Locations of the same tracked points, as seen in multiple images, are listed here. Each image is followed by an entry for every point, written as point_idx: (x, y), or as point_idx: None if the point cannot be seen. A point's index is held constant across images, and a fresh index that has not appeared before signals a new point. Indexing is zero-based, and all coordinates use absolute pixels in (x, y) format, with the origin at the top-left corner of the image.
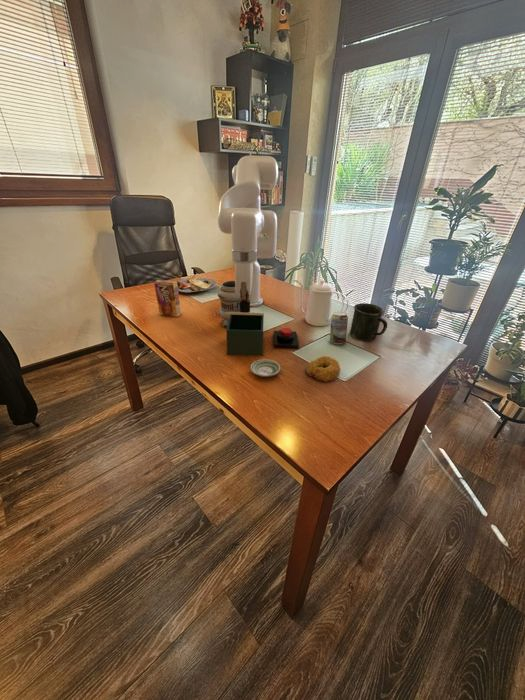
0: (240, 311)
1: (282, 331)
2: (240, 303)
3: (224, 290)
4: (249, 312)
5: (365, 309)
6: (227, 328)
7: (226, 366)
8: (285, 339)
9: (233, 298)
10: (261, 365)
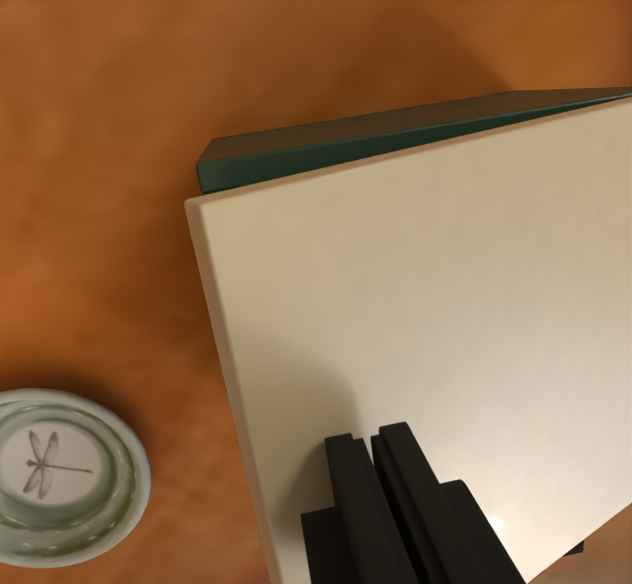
0: (326, 444)
1: None
2: (361, 565)
3: None
4: (511, 444)
5: None
6: (248, 165)
7: (39, 181)
8: None
9: None
10: (100, 432)
